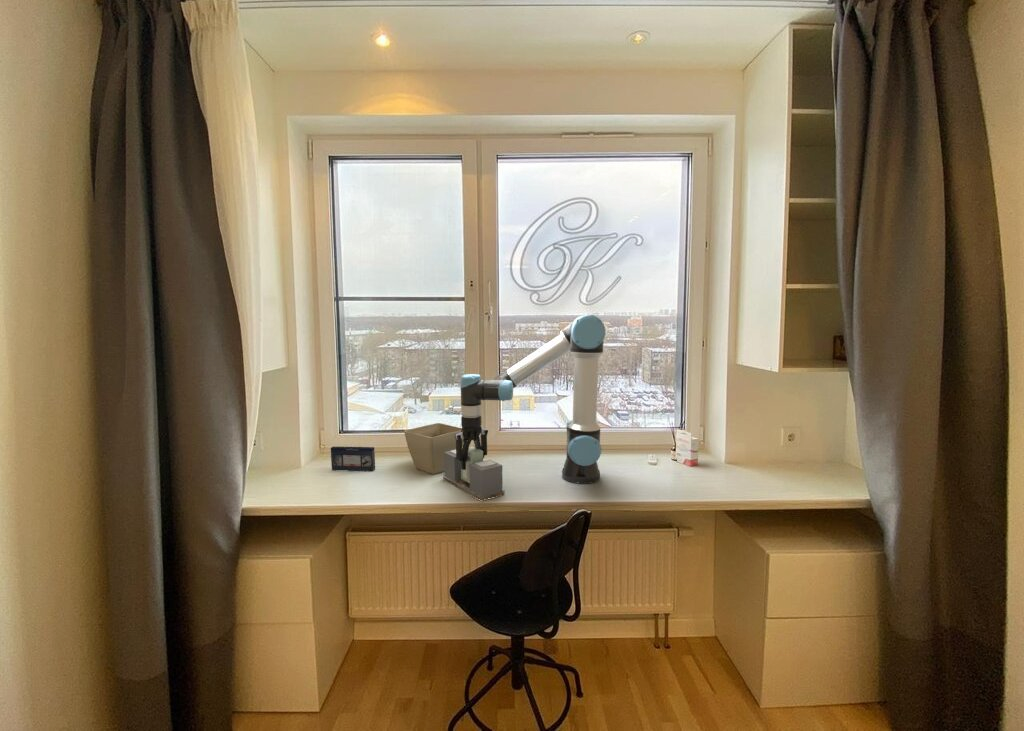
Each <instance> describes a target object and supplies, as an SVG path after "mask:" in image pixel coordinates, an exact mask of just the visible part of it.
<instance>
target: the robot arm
mask: <svg viewBox="0 0 1024 731" xmlns="http://www.w3.org/2000/svg"><path fill="white" fill-rule="evenodd" d="M605 338H606V327H605V324H604V323H603V321H602V320H601V319H600V318H599V317H598V316H597V315H593V314H589V313H588V314H582V315H579V316H578V317H575V319H574V320H573V321H572V322H571V323H569V325H567V326H566V327H565V328H563V329H562V330H560V332H559V335H558V336H556V337H554V338H553V339H551V340H550V341H549V342H547V343H545V344H543V345H542V346H541V347H539V348H538V349H537V350H534V352H532V353H530V354H529V355H527V356H526V357H524V358H523V359H522V360H520V361H518V362H517V363H516V364H513V366H511V367H510V368H508V369H507V370H505V371H503V372H502V373H500V374H498V375H496V377H494V378H493V379H488V380H487V379H482V377H481V375H480V374H477V373H476V374H475V373H467V374H463V375H462V376H461V377H460V387H459V388H460V412H461V413H460V415H461V418H460V420H461V428H462V430H461V433H459V434H455V439H456V459H457V460H459V461H461V469H463V477H465V478H466V479H468V461H466V460H467V455H468V450H469V446H471V442H472V441H473V444H474V447H475V448H477V449H480V450H482V451H483V459H484V458H485V456H487V455H488V434H489V430H488V429H485V428H482V416H481V415H482V401H502V402H505V401H511V400H513V398H514V389H515V388H517V387H518V386H519V385H520V384H523V383H524V382H525V381H527V380H529V379H530V378H532V377H533V376H534V375H536V374H538V373H540V371H543V370H544V369H545V368H547V367H548V366H550V365H551V364H553V363H555V362H556V361H557V360H559V359H561V358H562V357H563V356H566V355H567V354H568V353H571V355H573V360H574V361H573V362H574V363H573V390H572V391H573V393H572V394H573V396H572V399H573V400H572V403H573V404H572V420H568V421H567V422H566V427H565V429H566V458H565V462H564V464H563V468H562V470H561V477H562V479H563V480H565V481H567V480H568V482H570V481H572V482H571V483H574V482H579V483H578V484H592V483H591V482H593V483H596V482H598V481H599V480H601V471H600V469H599V464H598V462H597V461H599V459H600V457H601V454H602V445H601V426H600V425H599V424H598V423H597V416H598V415H597V412H598V411H597V410H598V384H599V383H598V382H599V358H600V357H601V355H603V353H604V340H605ZM462 436H463V437H464V439H463V447H462Z"/></svg>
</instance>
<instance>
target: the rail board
mask: <svg viewBox="0 0 1024 731" xmlns="http://www.w3.org/2000/svg"><path fill="white" fill-rule="evenodd" d="M442 476H443V477H442V479H443V480H444V481H446V482H447V483H449V484H451V485H453V486H454V487H456V488H458V489H460V490H461V491H463V492H464V493H466V494H468V495H469V494H470V496H471V495H472V496H471V497H473V496H474V498H475V497H476V498H478V499H480V500H484V499H488V498H492V497H495V498H497V497H496V496H498V497H501V496H500V495H502V496H504V494H505V492H506V491H505V489H503V490H502V491H501V493H497V494H494V495H490V496H487V497H484V496H480V495H479V494H477V493H475V492H473V491H472V490H470V483H468V482H466V481H464V480H462V481H458V482H457V481H454V480H452V479H451V478H449V477H447V476H445V474H443V475H442ZM476 498H475V499H476ZM478 499H477V500H478ZM492 499H493V498H492ZM480 500H479V501H480ZM488 500H489V499H488Z"/></svg>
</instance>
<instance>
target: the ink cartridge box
mask: <svg viewBox="0 0 1024 731" xmlns="http://www.w3.org/2000/svg"><path fill="white" fill-rule="evenodd" d="M692 435H693V434H692V432H690V431H686V430H683V429H678V428H677V429H676V436H675V459H676V458H677V461H678V462H677V463H679V462H680V463H679V464H682V465H685V466H687V467H694V466H698V464H699V438H698V437H695V436H692Z"/></svg>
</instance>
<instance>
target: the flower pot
mask: <svg viewBox="0 0 1024 731" xmlns="http://www.w3.org/2000/svg"><path fill="white" fill-rule="evenodd" d="M461 430H462V427H459V426H454V425H450V424H446V423H441V422H436V423H432V424H426V425H422V426H417V427H414V428H409V429H404V431H403V432H404V437H405V441H406V444H407V449H408V452H409V454H410V457H411V459H412V461H413V464H414V466H415V468H416V469H418V470H421V471H424V472H426V473H428V474H432V475H435V474H440V473H442V472H445V462H444V452H448V451H451V450H456V439H455V434H459V433H461ZM463 439H464V437H463V436H462V448H463V443H464V442H463Z"/></svg>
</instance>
